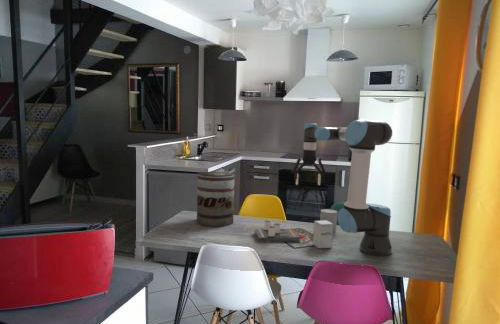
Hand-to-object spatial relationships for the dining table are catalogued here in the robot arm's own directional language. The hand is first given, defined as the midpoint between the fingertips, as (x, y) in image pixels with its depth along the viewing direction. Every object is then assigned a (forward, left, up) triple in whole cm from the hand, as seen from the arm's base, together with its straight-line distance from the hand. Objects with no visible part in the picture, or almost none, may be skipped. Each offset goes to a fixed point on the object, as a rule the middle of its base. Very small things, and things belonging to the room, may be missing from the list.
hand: (307, 184), depth 219 cm
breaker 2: (-26, +27, -23) cm, 43 cm away
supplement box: (-35, +2, -26) cm, 43 cm away
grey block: (-10, -10, -26) cm, 30 cm away
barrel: (+12, +55, -26) cm, 62 cm away
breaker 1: (-15, +27, -23) cm, 38 cm away
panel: (-20, +23, -26) cm, 40 cm away
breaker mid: (-20, +22, -23) cm, 38 cm away
